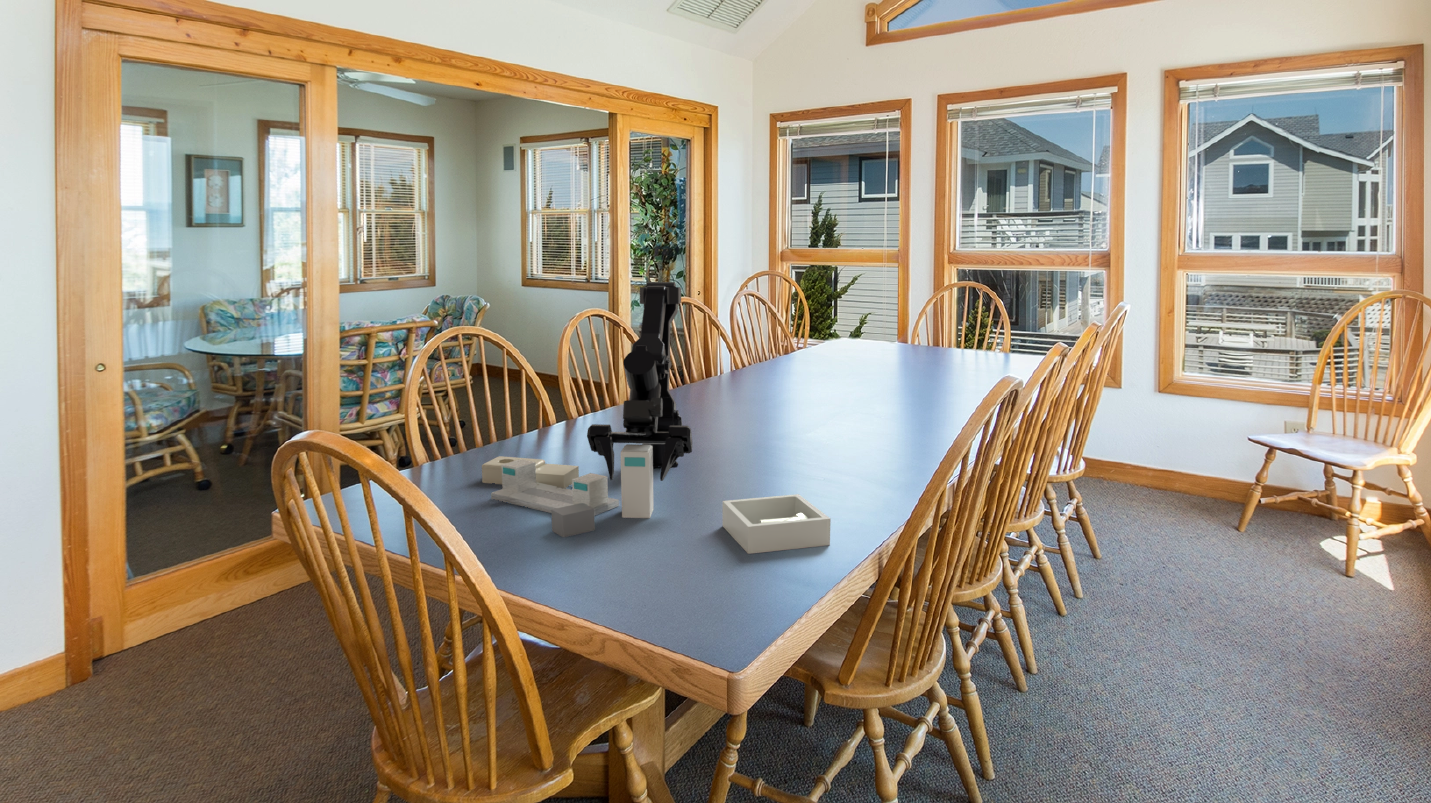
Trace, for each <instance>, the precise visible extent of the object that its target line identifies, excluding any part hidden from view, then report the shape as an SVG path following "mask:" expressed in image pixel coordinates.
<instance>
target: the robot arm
mask: <svg viewBox="0 0 1431 803" xmlns="http://www.w3.org/2000/svg"><path fill="white" fill-rule="evenodd" d="M681 303H682V288H681V287H680V286H677V285H676V282H675V281H647V282H646V285H644V286H639V305H640V304H641V305H643V312H642V318H641V319H642V320H641V327H640V328H641V329H640V336H639V338H638V339H637V340H636V341H635V342H633V343H632V346H631V347H632V348H631V351H630V352H629V353H627V354H626V355H625V358H623V362H622V364H623V365H622V366H623V369H624V373H625V378H626V383H627V386H628V388H629V389H630V390H629V397H628V398H629V399H628V400H627V399H626V400H624V401H623V407H622V408H623V409H622V410H623V411H622V419H623V422H622V426H623V428H624V429H625V431H613V430H612V426H611V424H601V423H600V424H597V423H595V424H591V425H590V426H589V427H588V428H587V433H586V437H587V440H588V445H589V448H590V451H591V452H594V453H597V455H599V456H600V457H601V456H603V457H604V459H605V463H606V467H607V472H608V476H609V477H608V478H609V480H610V481H613V480H614V476H615V475H614V474H615V450H614V444H636V445H651V446H653V469H654V468H660V474H659V475H660V476H659V480H660V482H664V480H665V478H666V476H667V475H668V472H669V471H670V469H671V468H672V467H677V466H679V462H678V461H677V460H678V458H682V457H684V456H685V454H691V453H692V452H693V435H692V428H691V427H690V426H689V425H683V418H682V416H681V415H680V413H679V411H680V410H677V403H676V401H675V399H674V398H673V395H672V394H671V392H670V373H671V372H670V369H671V368H672V361H671V325H672V322H673V321H674V319H675V317H676V316H677V314H678V312H679V305H680V304H681Z"/></svg>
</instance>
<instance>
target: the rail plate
mask: <svg viewBox="0 0 1431 803" xmlns="http://www.w3.org/2000/svg"><path fill="white" fill-rule="evenodd" d="M501 468H502V484H501V486H502V489H498V490H495V491H493V492H490V497H491V498H490V500H493V499H495V500H494V501H498V500H499V501H498V502H502V501H503V502H502V503H506V502H508V503H507V504H510V503H511V504H510V505H515V506H519V507H523V506H525V507H524V508H527V507H528V509H532V510H536V511H541V512H545V513H549V514H552V512H551V509H556V508H561V507H565V506H570V505H575V504H580V503H584V504H586V505H588V506H590V507H592V508H594V517H595V516H598V515H601V514H604V513H605V512H608V511H610V510H613V509H615V508H618V507H619V506H620V500H619V499H617V498H613V497H612V498H611V497H609V491H608V490H609V486H608V475H602V474H597V473H592V472H590V473H587V474H584V475H581V476H579V477H578V478H575V479H572V485H571V487H572V489H570V488H561V487H557V486H552V485H547V484H543V483H538V482H536V464H535V462H532V461H527V460H522V459H519V460H516V461H513V462H509V463H506V464H502V465H501Z"/></svg>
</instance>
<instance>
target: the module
mask: <svg viewBox="0 0 1431 803" xmlns="http://www.w3.org/2000/svg"><path fill="white" fill-rule="evenodd" d="M620 486H621V491H620V492H621V493H620V494H621V495H620V496H621V518H623V519H624V518H625V519H626V518H627V519H651V516H652V514H653V511H654V468H653V446H651V445H642V444H636V443H625V445H624V446H623V448H622V449H621V451H620Z"/></svg>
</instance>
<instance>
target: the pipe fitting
mask: <svg viewBox="0 0 1431 803" xmlns="http://www.w3.org/2000/svg"><path fill="white" fill-rule="evenodd" d="M800 519H808V517H806V516H805V515H804V514H802V513H799V514H796V515H794V516H793V517H790V518H777V519H764V520H760V523H770V522H780V521H790V520H800Z"/></svg>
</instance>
